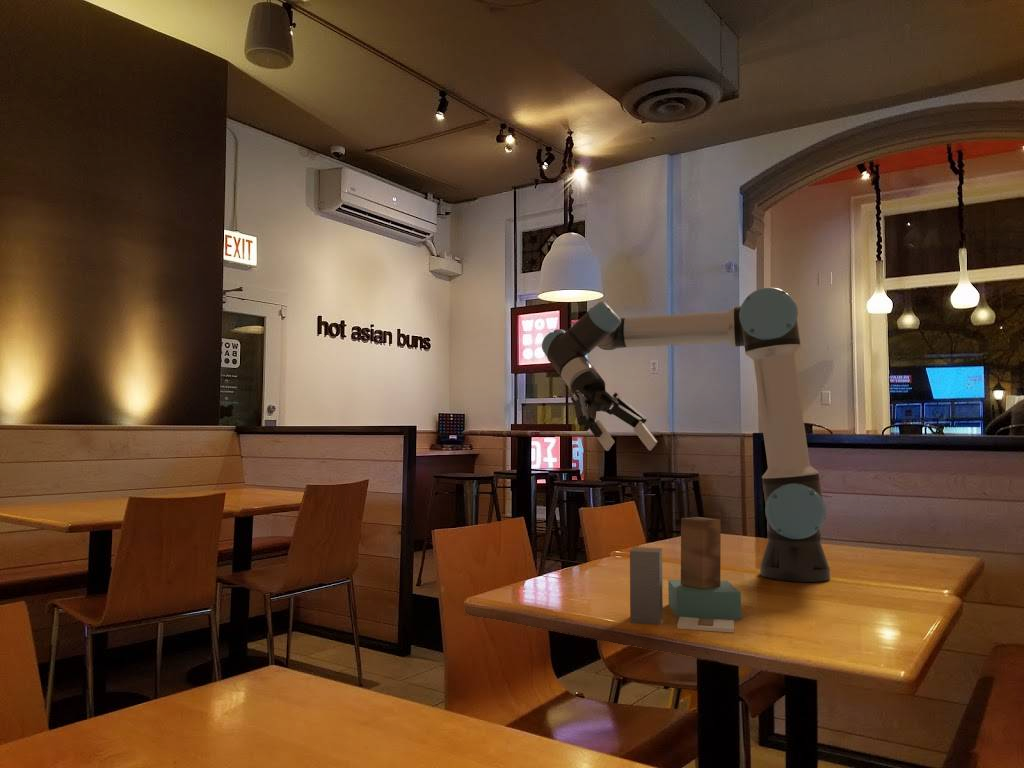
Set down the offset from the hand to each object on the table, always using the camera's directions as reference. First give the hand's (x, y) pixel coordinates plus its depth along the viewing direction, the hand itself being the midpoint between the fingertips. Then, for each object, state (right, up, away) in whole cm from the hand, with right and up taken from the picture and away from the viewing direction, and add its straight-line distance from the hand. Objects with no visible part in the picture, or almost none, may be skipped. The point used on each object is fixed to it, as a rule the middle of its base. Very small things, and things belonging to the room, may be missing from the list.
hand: (632, 446), depth 163 cm
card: (+6, -27, -37) cm, 46 cm away
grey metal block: (-3, -27, -33) cm, 43 cm away
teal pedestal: (+9, -28, -26) cm, 40 cm away
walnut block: (+8, -23, -26) cm, 36 cm away
